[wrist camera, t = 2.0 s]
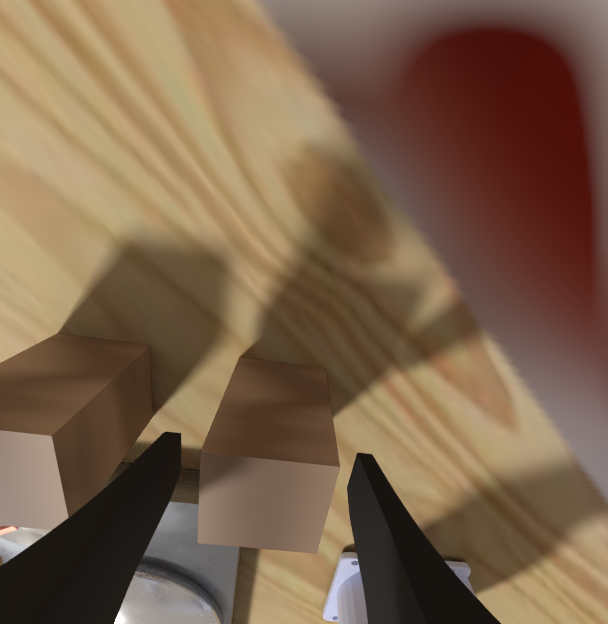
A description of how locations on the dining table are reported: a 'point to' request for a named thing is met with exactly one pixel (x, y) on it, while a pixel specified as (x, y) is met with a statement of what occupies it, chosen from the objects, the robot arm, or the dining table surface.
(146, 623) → the kitchen scale
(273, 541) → the walnut block
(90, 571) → the robot arm
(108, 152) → the dining table surface
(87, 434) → the walnut block
